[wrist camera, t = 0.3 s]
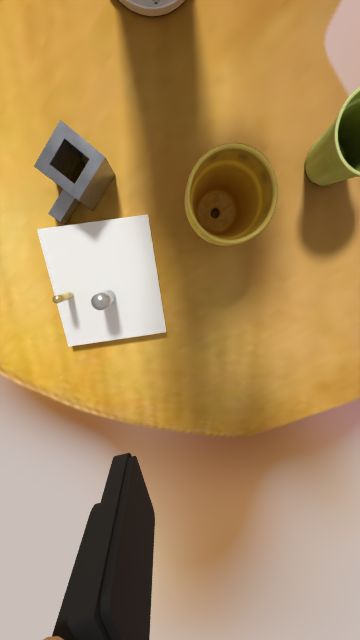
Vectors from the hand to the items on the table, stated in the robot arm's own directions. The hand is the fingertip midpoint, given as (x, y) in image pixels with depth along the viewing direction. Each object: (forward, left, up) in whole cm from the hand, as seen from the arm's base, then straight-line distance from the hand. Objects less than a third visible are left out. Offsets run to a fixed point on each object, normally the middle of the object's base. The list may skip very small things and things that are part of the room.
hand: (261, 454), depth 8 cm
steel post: (-4, -12, -29) cm, 31 cm away
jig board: (-6, -12, -30) cm, 33 cm away
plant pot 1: (-14, +6, -30) cm, 34 cm away
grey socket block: (-19, -14, -30) cm, 38 cm away
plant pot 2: (-19, +23, -30) cm, 42 cm away
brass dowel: (-5, -18, -29) cm, 34 cm away
